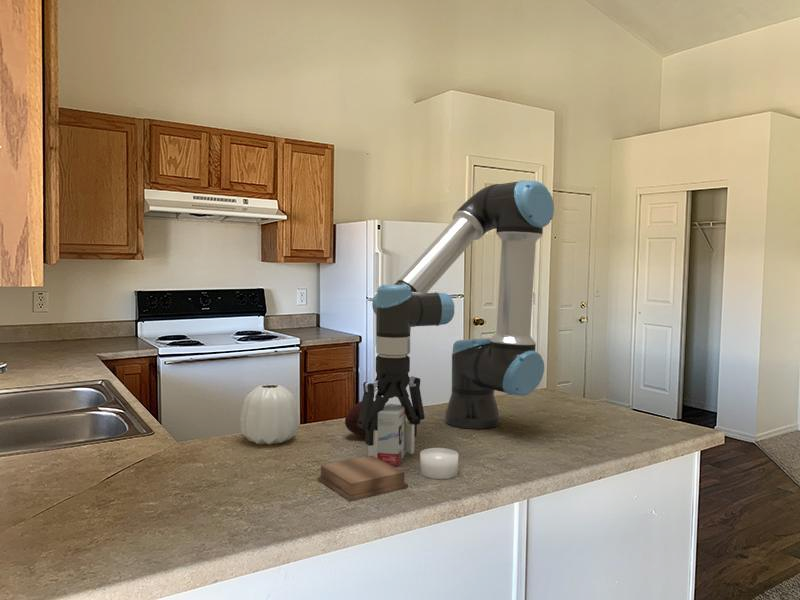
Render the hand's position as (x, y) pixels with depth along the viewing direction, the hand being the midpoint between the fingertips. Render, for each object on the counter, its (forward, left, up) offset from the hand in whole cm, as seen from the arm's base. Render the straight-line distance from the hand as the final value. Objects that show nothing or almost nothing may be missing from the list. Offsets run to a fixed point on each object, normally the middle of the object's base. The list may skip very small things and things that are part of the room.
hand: (391, 455), depth 137 cm
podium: (+13, +9, -1) cm, 16 cm away
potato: (-5, -18, -1) cm, 19 cm away
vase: (+17, -28, -1) cm, 33 cm away
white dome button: (-4, +12, -1) cm, 13 cm away
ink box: (0, 0, -1) cm, 1 cm away
